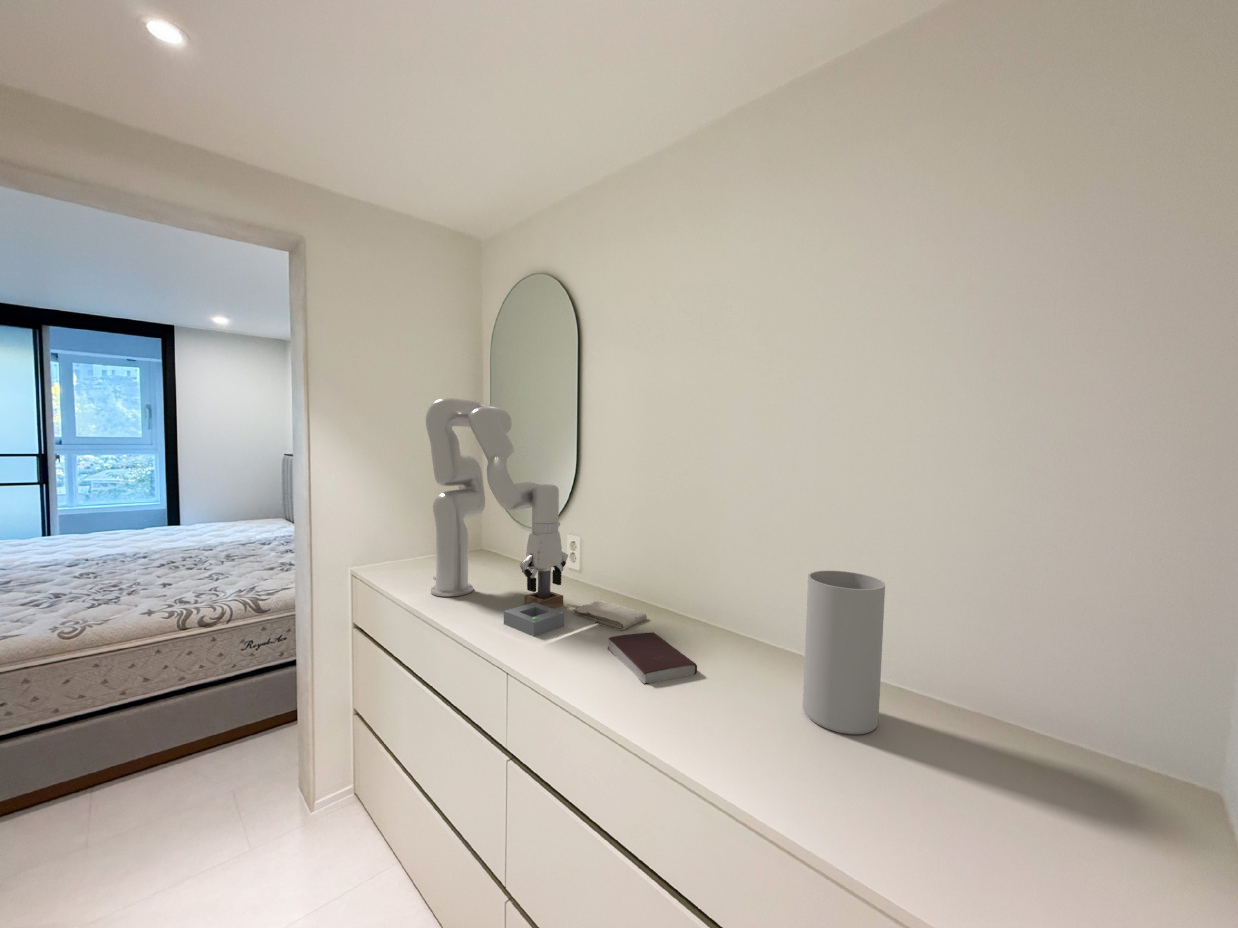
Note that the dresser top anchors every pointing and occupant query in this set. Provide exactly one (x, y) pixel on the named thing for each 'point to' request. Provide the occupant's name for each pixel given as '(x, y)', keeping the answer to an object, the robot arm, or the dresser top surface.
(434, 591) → the robot arm
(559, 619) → the port
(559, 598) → the holster
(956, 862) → the dresser top surface
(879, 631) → the cylinder vase
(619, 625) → the washcloth
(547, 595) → the grey and white cylinder
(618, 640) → the book
